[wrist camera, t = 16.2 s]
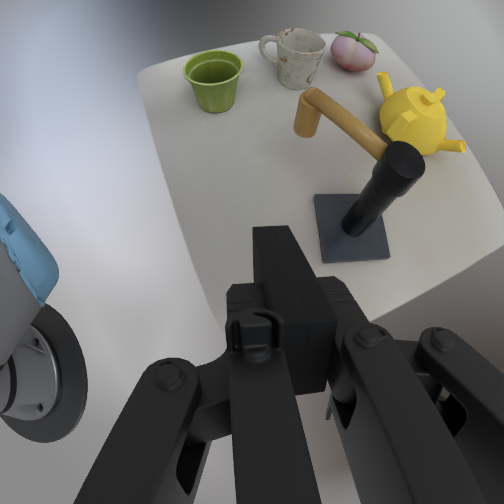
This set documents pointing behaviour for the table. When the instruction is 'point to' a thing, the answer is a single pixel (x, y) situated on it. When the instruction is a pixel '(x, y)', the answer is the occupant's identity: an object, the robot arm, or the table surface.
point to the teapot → (416, 118)
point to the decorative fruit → (353, 51)
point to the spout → (363, 142)
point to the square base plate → (353, 225)
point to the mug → (295, 56)
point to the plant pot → (214, 78)
